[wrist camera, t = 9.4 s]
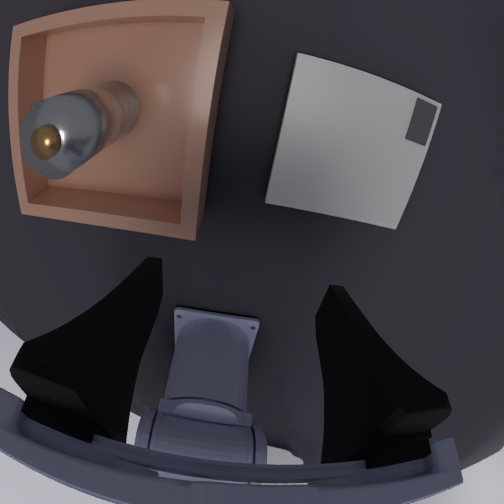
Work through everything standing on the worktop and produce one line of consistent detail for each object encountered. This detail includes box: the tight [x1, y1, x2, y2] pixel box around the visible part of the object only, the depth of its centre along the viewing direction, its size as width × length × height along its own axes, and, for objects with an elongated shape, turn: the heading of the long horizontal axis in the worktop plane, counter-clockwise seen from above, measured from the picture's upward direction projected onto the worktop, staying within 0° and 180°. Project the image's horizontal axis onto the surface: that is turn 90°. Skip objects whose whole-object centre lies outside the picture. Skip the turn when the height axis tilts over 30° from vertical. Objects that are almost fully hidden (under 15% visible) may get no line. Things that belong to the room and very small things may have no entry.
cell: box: [20, 81, 140, 180], centre depth 13 cm, size 4×4×8 cm
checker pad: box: [265, 53, 442, 229], centre depth 17 cm, size 10×10×1 cm
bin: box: [9, 0, 235, 241], centre depth 15 cm, size 14×14×4 cm
